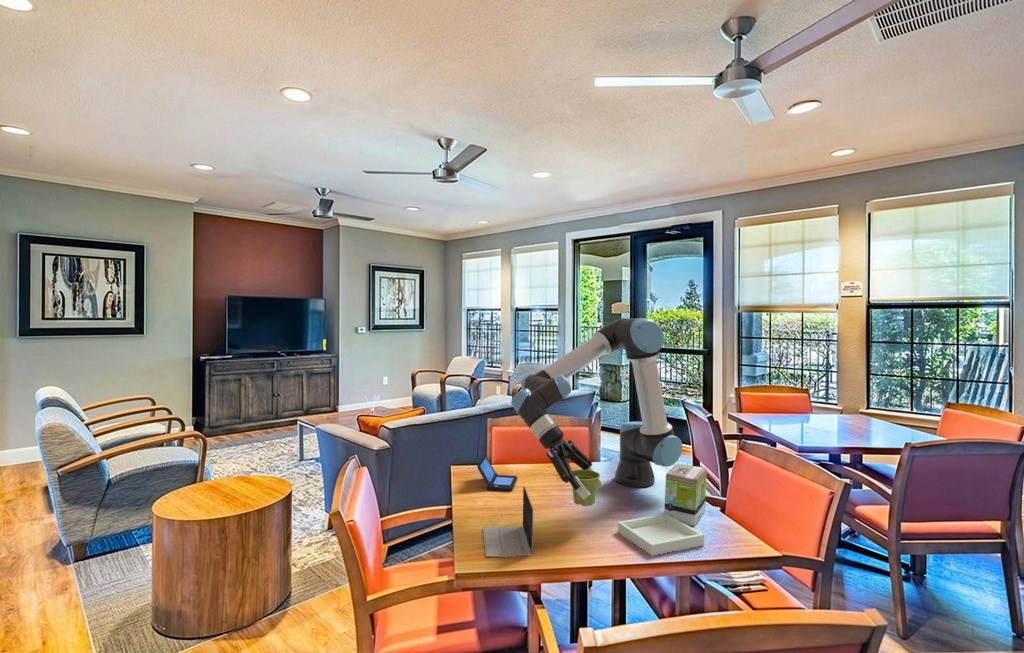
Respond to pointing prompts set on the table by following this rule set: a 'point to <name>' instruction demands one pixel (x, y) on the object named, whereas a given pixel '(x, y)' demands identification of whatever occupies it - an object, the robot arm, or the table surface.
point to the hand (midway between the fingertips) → (593, 491)
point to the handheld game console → (495, 477)
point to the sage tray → (660, 534)
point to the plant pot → (586, 486)
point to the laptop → (511, 536)
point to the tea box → (685, 493)
